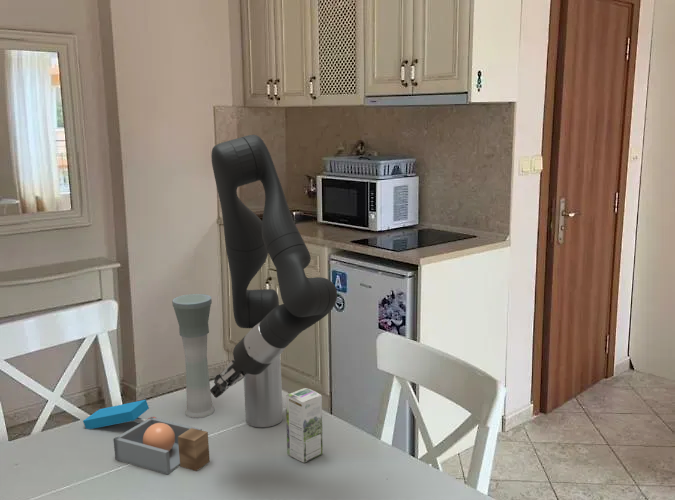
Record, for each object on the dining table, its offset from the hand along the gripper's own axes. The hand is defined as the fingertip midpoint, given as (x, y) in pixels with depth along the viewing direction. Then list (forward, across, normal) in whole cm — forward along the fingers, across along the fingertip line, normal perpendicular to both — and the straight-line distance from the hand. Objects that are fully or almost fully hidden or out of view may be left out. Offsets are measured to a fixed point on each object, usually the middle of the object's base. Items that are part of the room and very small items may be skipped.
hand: (214, 393), depth 142 cm
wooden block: (+17, +1, +8) cm, 19 cm away
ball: (+21, +1, -2) cm, 21 cm away
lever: (+37, -7, -11) cm, 40 cm away
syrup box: (+3, -13, +22) cm, 26 cm away
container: (+29, -21, -2) cm, 36 cm away
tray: (+24, +1, +1) cm, 24 cm away
